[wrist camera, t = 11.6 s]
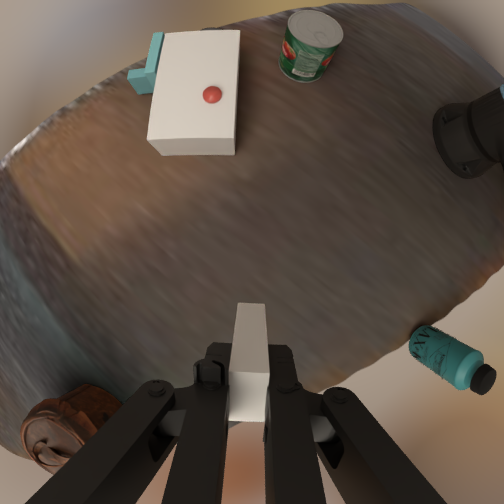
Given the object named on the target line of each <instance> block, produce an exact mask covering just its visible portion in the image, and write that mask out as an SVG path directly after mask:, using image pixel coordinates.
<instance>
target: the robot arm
mask: <svg viewBox="0 0 504 504" xmlns="http://www.w3.org/2000/svg"><path fill="white" fill-rule="evenodd" d="M433 134H434V139H435V143H436V146H437V149H438V151H439V153H440V155H441V157H442V159H443V160H444V162H445V163H446V165H447V166H448V167H449V168H450V169H451V170H452V171H453V172H454V173H455V174H457V175H458V176H460V177H462V178H466V179H470V178H475V177H479V176H481V175H482V174H484V173H485V172H486V171H487V170H488V169H490V168H491V167H492V166H493V165H494V164H495V163H497V162H501V164H502V167H503V171H504V84H502V86H501V87H499V88H497V89H495V90H493V91H491V92H490V93H488V94H486V95H484V96H482V97H480V98H478V99H476V100H475V101H473V102H471V103H452V104H448V105H446V106H444V107H442V108H441V109H439V110H438V111H437V113H436V114H435V117H434V120H433ZM193 374H194V384H193V385H191V386H189V387H185V388H176V389H174V388H173V386H172V385H171V384H170V383H169V382H167V381H164V380H151V381H148V382H146V383H144V384H143V385H142V386H141V387H140V388H139V389H138V390H137V391H136V392H135V393H134V394H133V395H132V396H131V397H130V398H129V399H128V400H127V401H126V402H125V403H124V404H123V405H122V406H121V407H120V409H119V410H118V411H117V412H116V413H115V414H114V415H113V416H112V417H111V418H110V419H109V420H108V421H107V422H106V423H105V424H104V425H103V426H102V427H101V428H100V429H99V430H98V431H97V432H96V433H95V434H94V435H93V436H92V437H91V438H90V439H89V440H88V441H87V442H86V443H85V444H84V445H83V446H82V447H81V448H80V449H79V450H78V451H77V452H76V453H75V454H74V455H73V456H72V457H71V458H70V459H69V460H68V461H67V462H66V463H65V464H64V465H63V466H62V467H61V468H60V469H59V470H58V471H57V472H56V473H55V474H54V475H53V476H52V477H51V478H50V479H49V480H48V481H47V482H46V483H45V484H44V485H43V486H42V487H41V488H40V489H39V490H38V491H37V492H36V493H35V494H34V495H33V496H32V497H31V498H30V499H29V500H28V501H27V502H26V503H25V504H136V502H137V500H138V499H139V498H140V496H141V495H142V494H143V492H144V491H145V489H146V488H147V486H148V485H149V483H150V482H151V481H152V479H153V478H154V476H155V475H156V473H157V472H158V470H159V469H160V467H161V466H162V464H163V463H164V461H165V460H166V458H167V457H168V455H169V454H170V452H171V451H172V449H173V448H174V446H175V445H176V443H177V442H178V443H177V446H176V450H175V454H174V457H173V461H172V465H171V469H170V472H169V476H168V480H167V484H166V488H165V491H164V496H163V499H162V503H161V504H221V500H222V489H223V479H224V468H225V458H226V448H227V437H228V420H231V421H251V422H264V421H265V427H264V435H263V442H264V447H265V448H264V450H265V494H266V504H326V498H325V493H324V488H323V483H322V477H321V472H320V467H319V462H318V457H317V454H318V456H319V458H320V459H321V461H322V463H323V465H324V466H325V468H326V470H327V472H328V474H329V475H330V477H331V479H332V481H333V482H334V484H335V486H336V487H337V489H338V491H339V493H340V494H341V496H342V498H343V500H344V501H345V503H346V504H447V503H446V502H445V501H444V500H443V498H442V497H441V496H440V495H439V494H438V493H437V491H436V490H435V489H434V488H433V487H432V485H431V484H430V483H429V482H428V481H427V480H426V478H425V477H424V476H423V475H422V474H421V473H420V471H419V470H418V469H417V468H416V467H415V466H414V465H413V463H412V462H411V461H410V460H409V458H408V457H407V456H406V455H405V454H404V453H403V451H402V450H401V449H400V448H399V447H398V445H397V444H396V443H395V442H394V441H393V439H392V438H391V437H390V436H389V435H388V433H387V432H386V431H385V430H384V429H383V427H382V426H381V425H380V424H379V423H378V421H377V420H376V419H375V418H374V417H373V415H372V414H371V413H370V412H369V411H368V410H367V408H366V407H365V406H364V405H363V403H362V402H361V401H360V400H359V399H358V397H357V396H356V395H355V394H354V393H353V392H352V391H350V390H349V389H346V388H342V387H332V388H329V389H327V390H326V391H325V392H324V394H323V395H322V394H317V393H312V392H309V391H307V390H305V389H303V386H302V384H301V383H300V382H298V379H297V374H296V369H295V364H294V359H293V354H292V350H291V349H290V348H289V347H288V346H287V345H269V344H268V342H267V329H266V316H265V304H254V303H238V307H237V315H236V322H235V329H234V336H233V344H232V343H217V342H213V343H212V344H211V345H210V346H209V347H208V348H207V352H206V355H205V359H201V360H199V361H197V362H196V363H195V364H194V365H193Z"/></svg>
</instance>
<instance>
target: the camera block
mask: <svg viewBox="0 0 504 504" xmlns="http://www.w3.org/2000/svg"><path fill="white" fill-rule="evenodd" d="M239 63H240V30H221V29H218V28H205V29H202V30H200V31H188V32H176V33H166V34H165V38H164V42H163V46H162V51H161V55H160V60H159V65H158V70H157V76H156V81H155V87H154V93H153V99H152V105H151V112H150V119H149V127H148V135H147V141H148V142H149V143H150V144H151V145H152V146H153V147H154V148H155V149H156V150H157V151H158V152H159V153H160V154H161V155H162V156H170V155H235V139H236V117H237V98H238V79H239Z"/></svg>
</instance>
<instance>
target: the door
mask: <svg viewBox="0 0 504 504" xmlns="http://www.w3.org/2000/svg"><path fill="white" fill-rule="evenodd" d="M164 38H165V35H164V33H163V32H158V33H154V34H153V38H152V42H151V46H150V50H149V54H148V58H147V63H146V67H145V68H142V69H135V70H129V73H128V78H127V79H128V81H129V82H130V84H131V85H132V86H133V88H134V89H135V90H136V92H137V93H138V94H146V93H154V87H155V81H156V76H157V70H158V65H159V60H160V55H161V51H162V46H163V42H164Z"/></svg>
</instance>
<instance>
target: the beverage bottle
mask: <svg viewBox="0 0 504 504" xmlns="http://www.w3.org/2000/svg"><path fill="white" fill-rule="evenodd" d="M409 351H410V353H411V354H412V356H413V357H415V358H416V359H417V360H419V361H420V362H421V363H423V364H424V365H425V366H427V367H428V368H430V370H432V371H434V372H435V373H436V374H438V375H439V376H441V377H442V378H444V379H445V380H446V381H448V382H449V383H450V384H452V385H453V386H454V387H455V388H456V389H458V390H465V389H467V388H469V387H470V389H471V390H472V391H473V392H476V393H477V394H479V395H484V394H486V393H487V392H488V391H489V390H490V389H491V387H492V386H493V384H494V382H495V379H496V370H494V369H493V368H492V367H490V365H488V364H484V358H483V354H482V353H481V352H480V351H478V350H475V349H473V348H471V347H469V346H468V345H466V344H464V343H462V342H460V341H458V340H457V339H455V338H454V337H451V336H449V335H448V334H445V333H443V332H441V331H439V329H438V330H437V328H436V329H435V328H434V327H432V326H428V325H424V326H421V327H419V328H418V329H417V330H416V331H415V332H414V333H413V334H412V336H411V338H410V341H409Z"/></svg>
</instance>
